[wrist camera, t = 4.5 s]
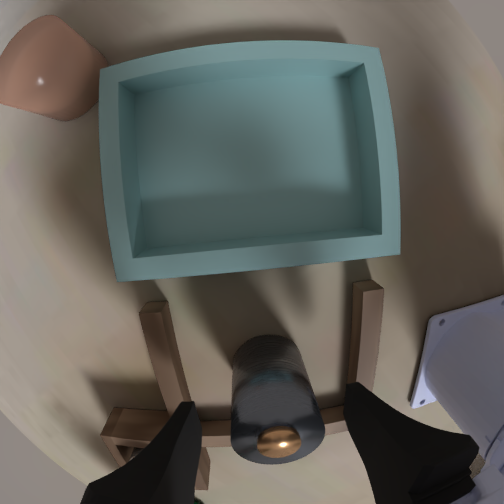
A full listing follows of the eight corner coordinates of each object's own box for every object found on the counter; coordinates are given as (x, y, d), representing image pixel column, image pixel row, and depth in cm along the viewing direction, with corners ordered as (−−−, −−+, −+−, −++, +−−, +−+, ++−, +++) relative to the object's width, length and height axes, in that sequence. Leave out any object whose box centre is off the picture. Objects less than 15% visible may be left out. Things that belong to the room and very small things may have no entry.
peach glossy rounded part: (110, 40, 12) (71, 0, 7) (107, 108, 13) (57, 82, 8) (48, 65, 12) (1, 40, 7) (43, 130, 13) (-12, 119, 8)
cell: (300, 330, 16) (330, 406, 9) (301, 385, 17) (324, 463, 10) (228, 338, 16) (223, 419, 9) (237, 392, 17) (236, 473, 10)
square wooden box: (194, 411, 17) (188, 443, 14) (210, 461, 18) (208, 490, 15) (114, 407, 17) (100, 435, 14) (139, 457, 18) (131, 483, 15)
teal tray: (360, 65, 13) (378, 48, 10) (377, 244, 15) (400, 254, 12) (119, 84, 12) (99, 69, 10) (135, 267, 15) (117, 282, 12)
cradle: (372, 279, 15) (384, 288, 14) (358, 412, 17) (365, 426, 16) (147, 302, 15) (138, 313, 14) (184, 431, 17) (181, 446, 16)
